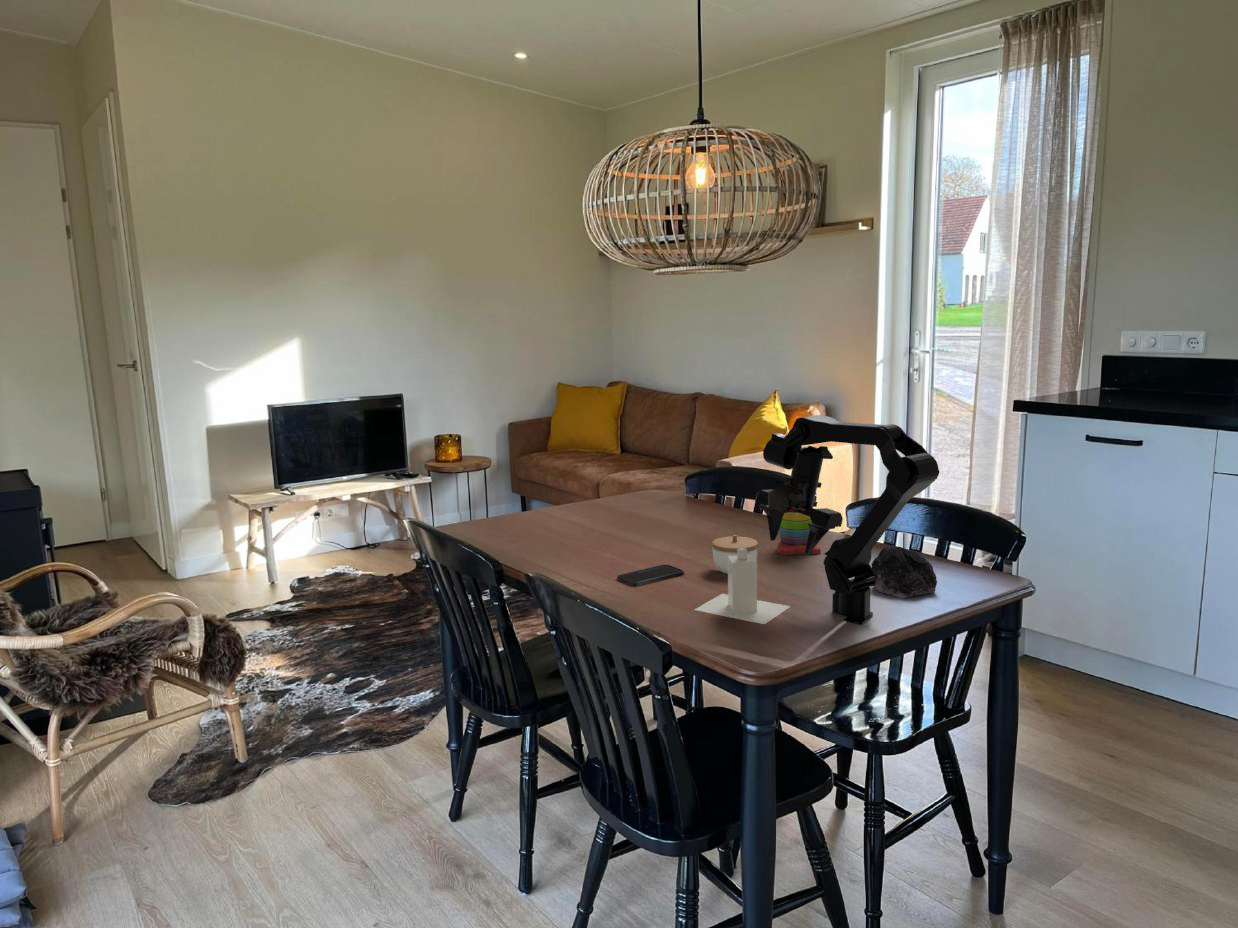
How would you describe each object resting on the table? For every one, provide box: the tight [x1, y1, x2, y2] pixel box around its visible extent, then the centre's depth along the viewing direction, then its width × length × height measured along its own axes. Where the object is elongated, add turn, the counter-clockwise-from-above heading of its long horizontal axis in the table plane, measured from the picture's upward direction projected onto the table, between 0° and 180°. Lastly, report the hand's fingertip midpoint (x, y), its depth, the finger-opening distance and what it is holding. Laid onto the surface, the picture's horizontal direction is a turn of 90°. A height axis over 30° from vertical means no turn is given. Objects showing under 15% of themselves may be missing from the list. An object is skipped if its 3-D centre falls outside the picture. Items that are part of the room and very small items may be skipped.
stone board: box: [694, 593, 791, 625], centre depth 178 cm, size 16×12×1 cm
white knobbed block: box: [727, 548, 758, 613], centre depth 177 cm, size 5×5×12 cm
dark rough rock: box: [870, 545, 938, 599], centre depth 189 cm, size 13×14×10 cm
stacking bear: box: [776, 509, 822, 556], centre depth 221 cm, size 11×10×18 cm
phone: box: [616, 564, 685, 587], centre depth 204 cm, size 8×1×15 cm
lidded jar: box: [711, 534, 759, 575], centre depth 204 cm, size 11×11×9 cm
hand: (789, 547), depth 181 cm, fingers open, 9 cm apart
